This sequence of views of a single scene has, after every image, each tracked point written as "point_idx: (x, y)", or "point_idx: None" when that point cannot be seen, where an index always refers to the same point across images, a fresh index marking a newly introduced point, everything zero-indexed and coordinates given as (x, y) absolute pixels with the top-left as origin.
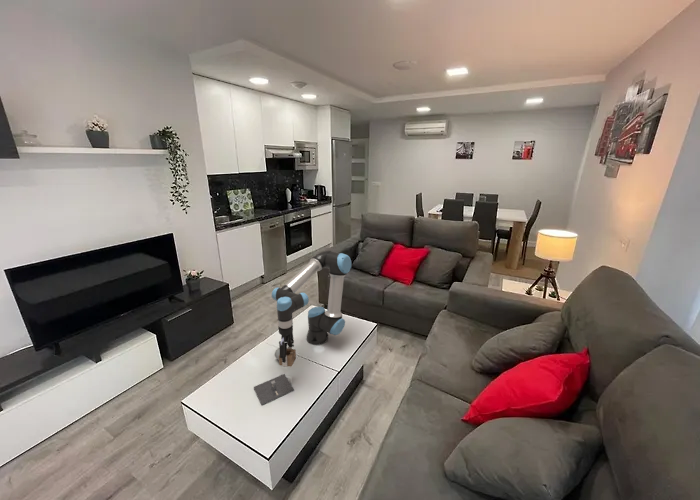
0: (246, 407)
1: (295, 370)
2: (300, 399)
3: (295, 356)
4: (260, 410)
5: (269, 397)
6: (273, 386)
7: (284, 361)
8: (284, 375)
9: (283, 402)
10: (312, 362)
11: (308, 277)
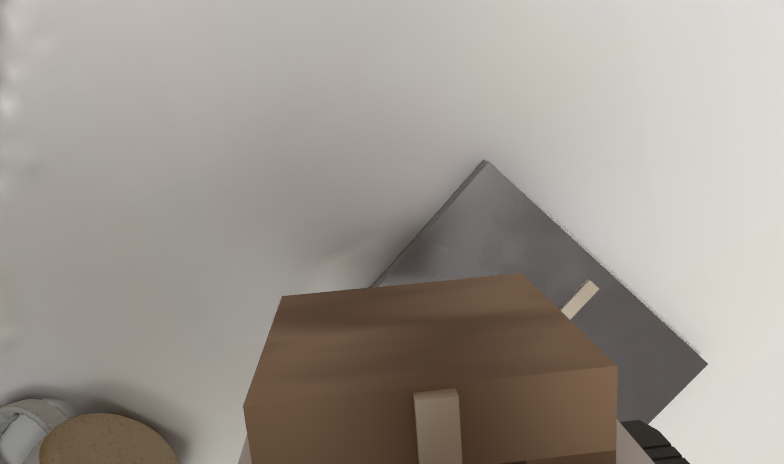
0: (727, 456)
1: (209, 276)
2: (578, 44)
3: (297, 317)
4: (742, 340)
5: (630, 340)
6: None
7: (664, 444)
8: None
9: (638, 194)
10: (3, 137)
11: None
